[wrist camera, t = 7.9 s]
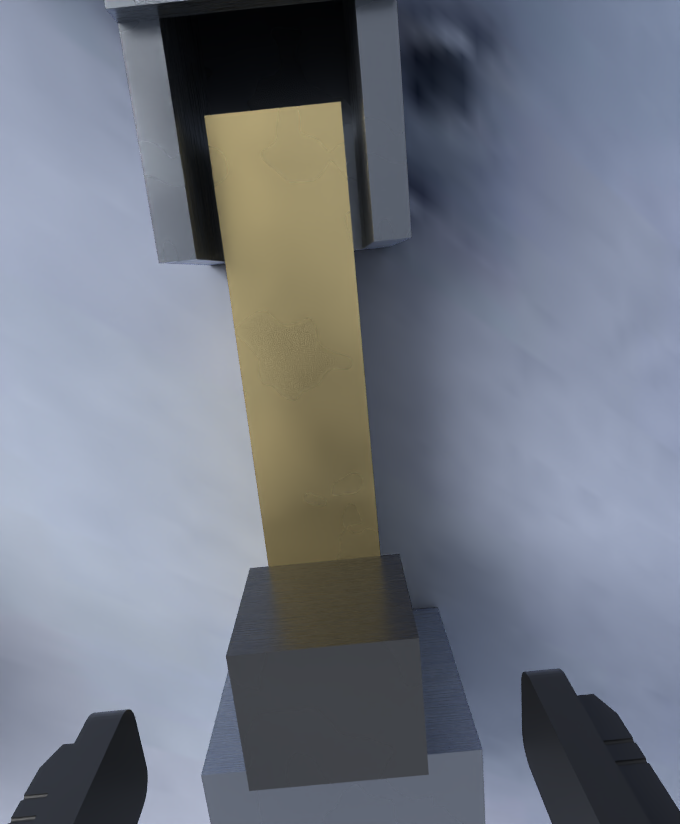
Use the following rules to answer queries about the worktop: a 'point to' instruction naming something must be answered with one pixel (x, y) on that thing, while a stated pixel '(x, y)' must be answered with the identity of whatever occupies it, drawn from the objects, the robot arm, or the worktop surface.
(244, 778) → the socket
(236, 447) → the worktop surface
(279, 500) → the yellow bar
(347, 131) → the sleeve
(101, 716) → the robot arm
